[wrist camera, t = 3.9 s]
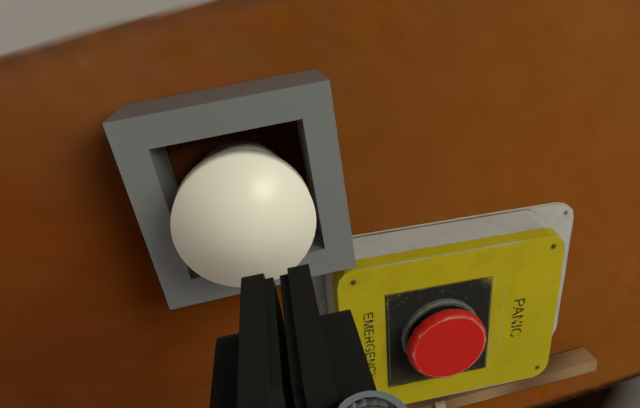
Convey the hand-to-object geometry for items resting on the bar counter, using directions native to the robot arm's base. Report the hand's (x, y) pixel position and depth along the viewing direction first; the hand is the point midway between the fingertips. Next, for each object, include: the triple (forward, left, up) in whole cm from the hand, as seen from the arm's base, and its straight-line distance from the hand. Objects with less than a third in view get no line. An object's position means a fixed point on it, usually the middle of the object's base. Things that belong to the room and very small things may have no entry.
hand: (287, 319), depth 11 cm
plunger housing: (+1, 0, -10) cm, 10 cm away
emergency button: (-8, +9, -11) cm, 16 cm away
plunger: (+1, 0, -9) cm, 9 cm away
